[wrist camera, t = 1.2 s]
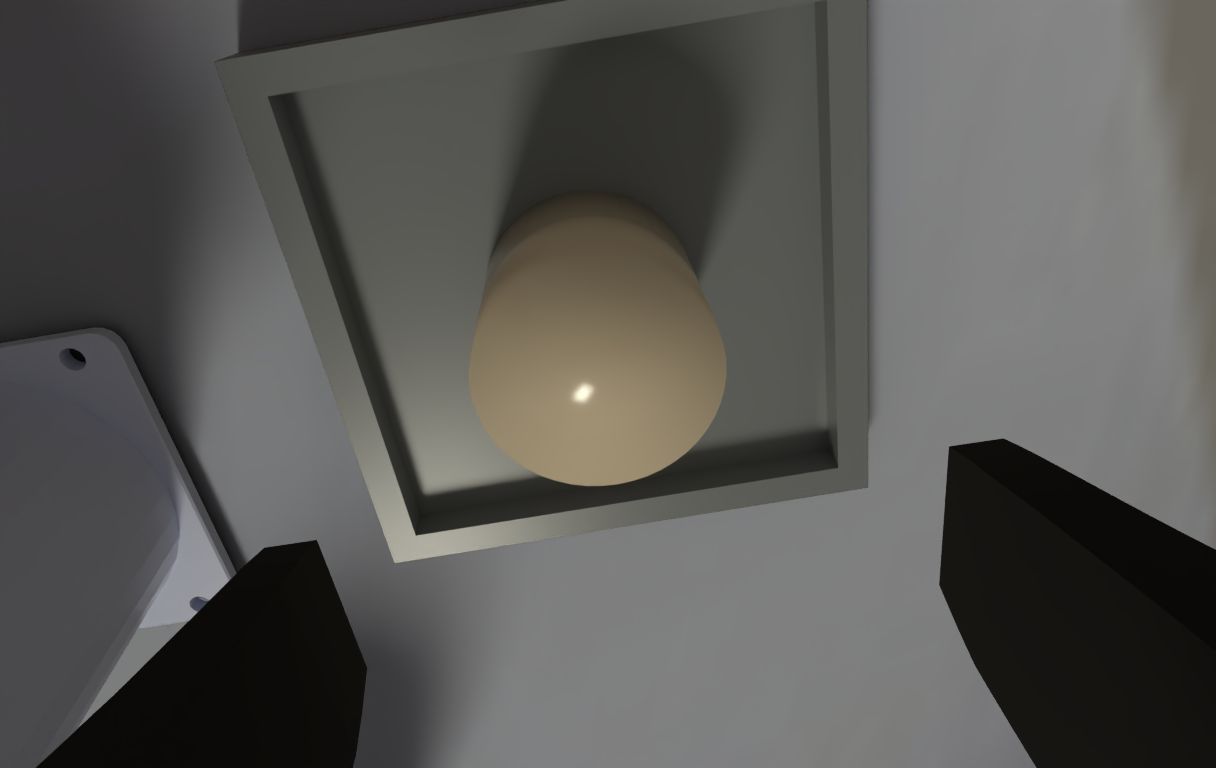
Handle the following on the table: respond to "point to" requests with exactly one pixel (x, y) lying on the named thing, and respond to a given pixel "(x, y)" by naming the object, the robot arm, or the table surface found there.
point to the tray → (556, 164)
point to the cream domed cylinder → (594, 343)
